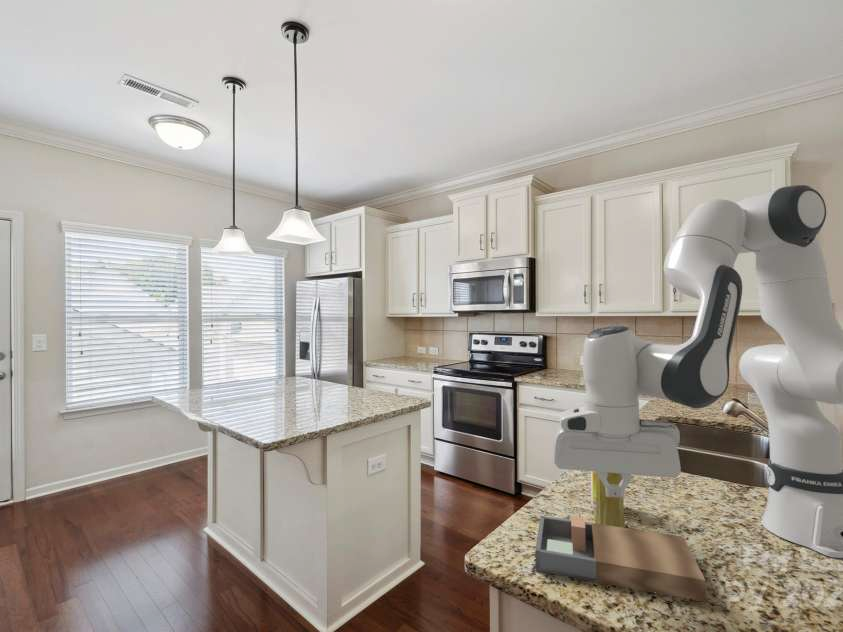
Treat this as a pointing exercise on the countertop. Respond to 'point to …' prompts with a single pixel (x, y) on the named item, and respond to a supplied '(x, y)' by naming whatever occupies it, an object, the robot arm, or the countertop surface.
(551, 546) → the tile sage
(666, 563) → the board
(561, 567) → the tray
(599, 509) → the vase
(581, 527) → the tile terracotta
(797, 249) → the robot arm
